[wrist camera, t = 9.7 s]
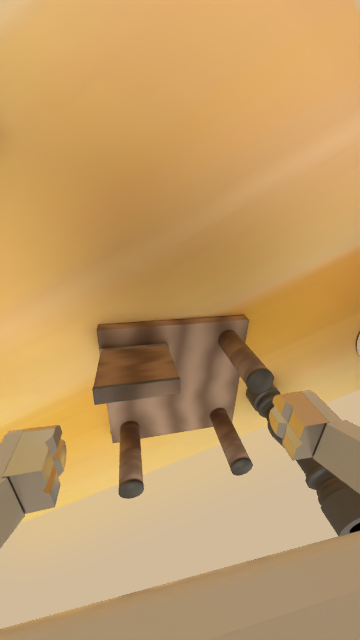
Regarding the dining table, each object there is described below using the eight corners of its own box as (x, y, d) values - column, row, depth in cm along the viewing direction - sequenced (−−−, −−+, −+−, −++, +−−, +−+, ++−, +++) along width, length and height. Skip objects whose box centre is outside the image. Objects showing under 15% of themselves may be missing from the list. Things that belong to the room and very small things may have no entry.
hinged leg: (167, 340, 39) (181, 378, 29) (167, 352, 39) (181, 393, 29) (100, 346, 37) (90, 389, 27) (102, 358, 37) (93, 405, 27)
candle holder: (254, 405, 54) (345, 545, 32) (241, 391, 51) (331, 533, 29) (276, 389, 53) (386, 520, 31) (264, 374, 50) (375, 506, 28)
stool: (243, 314, 43) (290, 357, 31) (228, 416, 53) (258, 477, 41) (98, 324, 38) (86, 380, 26) (113, 434, 48) (109, 509, 36)
